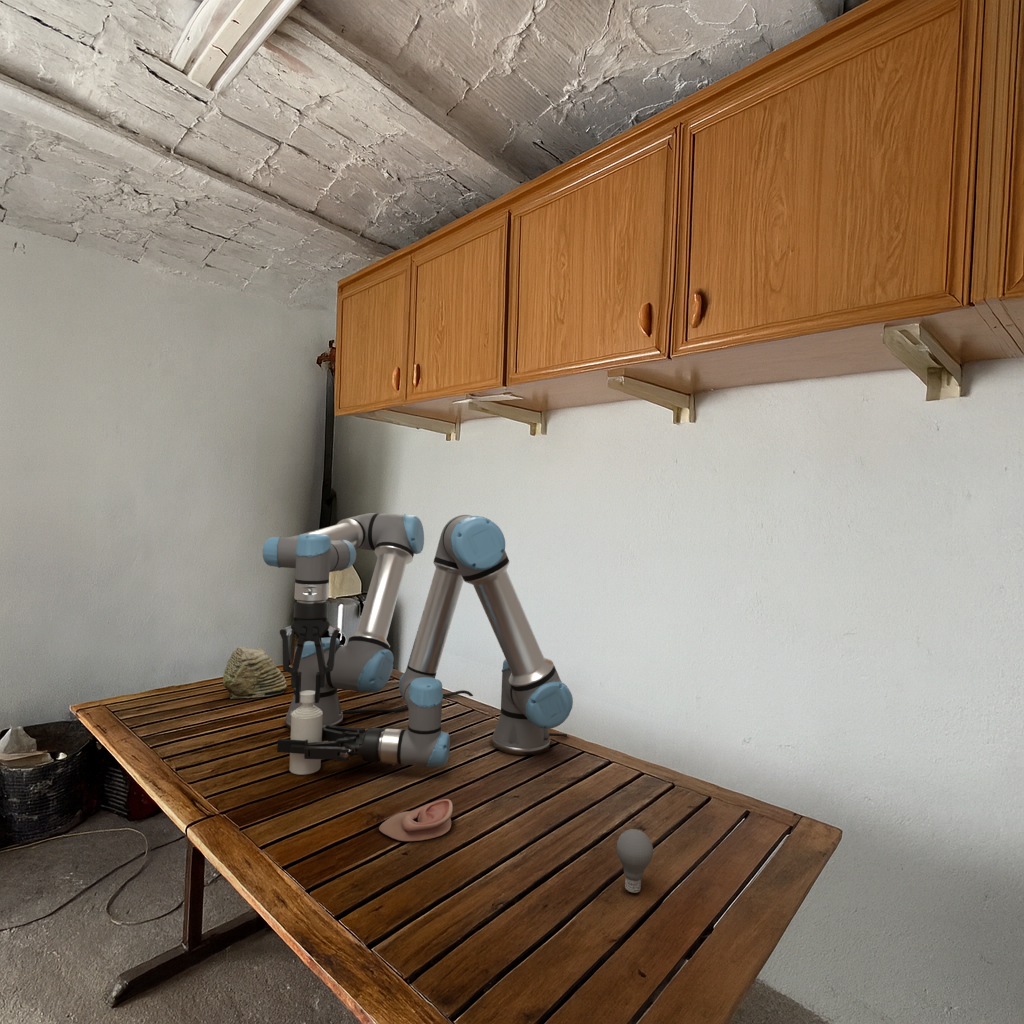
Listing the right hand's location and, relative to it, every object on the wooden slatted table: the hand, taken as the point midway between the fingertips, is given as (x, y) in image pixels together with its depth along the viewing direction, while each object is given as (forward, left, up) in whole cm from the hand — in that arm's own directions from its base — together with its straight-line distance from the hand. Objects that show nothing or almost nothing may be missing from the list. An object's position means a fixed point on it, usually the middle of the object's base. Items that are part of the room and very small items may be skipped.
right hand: (285, 739), depth 147 cm
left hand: (-4, +2, +9) cm, 10 cm away
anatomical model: (-23, +36, -6) cm, 43 cm away
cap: (-4, +2, +11) cm, 12 cm away
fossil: (+7, -57, -6) cm, 58 cm away
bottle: (-4, +2, -6) cm, 8 cm away
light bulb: (-53, +66, -6) cm, 85 cm away
